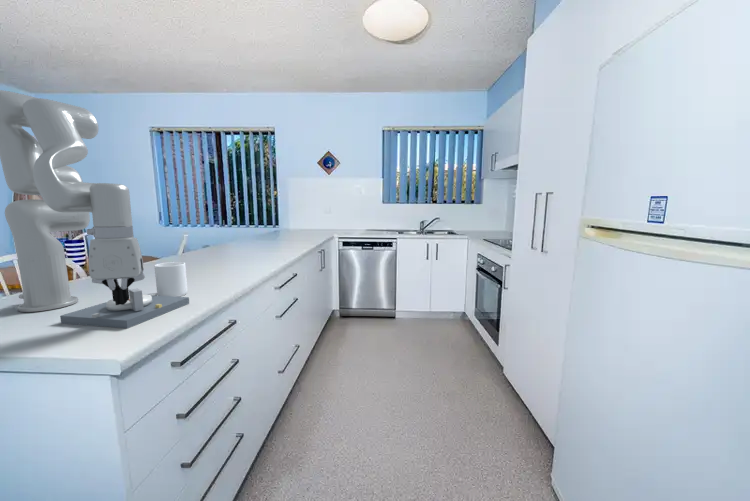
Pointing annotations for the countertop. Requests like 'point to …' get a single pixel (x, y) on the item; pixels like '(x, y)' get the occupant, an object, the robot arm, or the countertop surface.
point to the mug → (171, 279)
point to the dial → (131, 301)
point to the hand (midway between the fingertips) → (121, 303)
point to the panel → (123, 313)
